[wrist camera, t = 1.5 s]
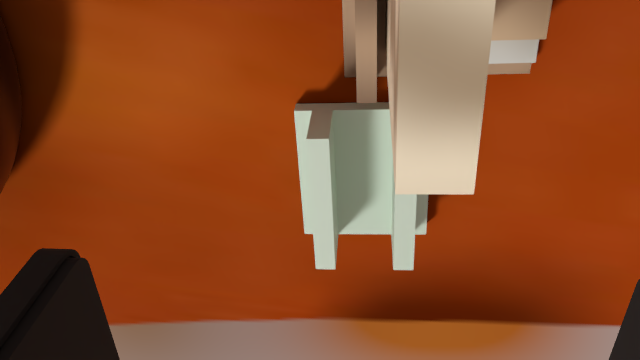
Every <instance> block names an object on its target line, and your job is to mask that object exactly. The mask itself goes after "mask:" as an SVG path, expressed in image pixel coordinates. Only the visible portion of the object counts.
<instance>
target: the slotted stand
mask: <svg viewBox="0 0 640 360" xmlns="http://www.w3.org/2000/svg"><path fill="white" fill-rule="evenodd" d="M294 116H295V127H296V139H297V151H298V162H299V174H300V186H301V197H302V209H303V220H304V232H305V234H313V237H314V250H315V263H316V269H336V256H337V244H338V234H391V237H392V256H393V270H413V265H414V244H415V234H426V226H427V210H428V194H395V182H394V167H393V153H392V138H391V123H390V109H389V102H377V103H312V104H296V106H295V109H294Z"/></svg>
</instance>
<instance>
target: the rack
mask: <svg viewBox="0 0 640 360" xmlns="http://www.w3.org/2000/svg"><path fill="white" fill-rule="evenodd" d="M342 10H343V42H344V74H345V77H356V89H357V103H377V77H384V76H387V65H386V0H342ZM530 68H531V63H502V64H489V65H488V73H487V74H523V73H530Z"/></svg>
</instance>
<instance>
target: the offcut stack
mask: <svg viewBox="0 0 640 360" xmlns="http://www.w3.org/2000/svg"><path fill="white" fill-rule="evenodd" d="M551 6H552V0H496V3H495V12H494V20H493V29H492V38H491V47H490V56H489V64H502V63H536V57H537V50H538V44H539V39H546V36H547V30H548V24H549V18H550V12H551Z"/></svg>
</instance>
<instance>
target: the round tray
mask: <svg viewBox="0 0 640 360" xmlns="http://www.w3.org/2000/svg"><path fill="white" fill-rule="evenodd" d="M21 122H22V100H21V89H20V81H19V76H18V70H17V66H16V61H15V58H14V54H13V50H12V47H11V44H10V41H9V38H8V35H7V32H6V29H5V27H4V24H3V21H2V19H1V16H0V193H1V192H2V190H3V188H4V185H5V183H6V181H7V179H8V177H9V174H10V172H11V170H12V167H13V164H14V161H15V157H16V153H17V148H18V143H19V138H20V132H21Z"/></svg>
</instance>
